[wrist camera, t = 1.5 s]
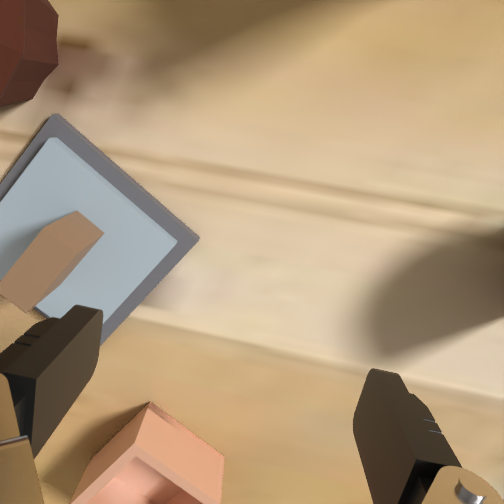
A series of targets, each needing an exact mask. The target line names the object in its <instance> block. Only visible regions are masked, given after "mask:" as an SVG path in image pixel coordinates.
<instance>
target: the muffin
mask: <svg viewBox="0 0 504 504" xmlns="http://www.w3.org/2000/svg"><path fill="white" fill-rule="evenodd" d="M57 26H58V14H57V12H56V11H55V10H54V8H53V7H52V5H51V4H50V3H49V1H48V0H0V106H4V105H8V104H12V103H16V102H21V101H25V100H29V99H33V97H34V96H35V94H36V92H37V91H38V89H39V87H40V86H41V84H42V82H43V81H44V79H45V78H46V77H47V76H48V75H49V74H50V73H51V72H52V71H53V70H54V69H55V68H56V67H57V66H58V55H57V43H56V37H57Z"/></svg>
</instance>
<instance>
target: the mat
mask: <svg viewBox="0 0 504 504" xmlns="http://www.w3.org/2000/svg"><path fill="white" fill-rule="evenodd" d="M54 137H57V138H58V139H59V140H60V141H62V142H63V143H64V144H65V145H66V146H67V147H69V148H70V149H71V150H72V151H73V152H74V153H76V154H77V155H78V156H79V157H80V158H81V159H83V160H84V161H85V162H86V163H87V164H88V165H90V166H91V167H92V168H93V169H94V170H95V171H97V172H98V173H99V174H100V175H101V176H102V177H104V178H105V179H106V180H107V181H108V182H109V183H110V184H112V185H113V186H114V187H115V188H116V189H117V190H119V191H120V192H121V193H122V194H123V195H124V196H126V197H127V198H128V199H129V200H130V201H131V202H133V203H134V204H135V205H136V206H137V207H138V208H140V209H141V210H142V211H143V212H144V213H145V214H147V215H148V216H149V217H150V218H151V219H152V220H154V221H155V222H156V223H157V224H158V225H159V226H161V227H162V228H163V229H164V230H165V231H166V232H167V233H169V234H170V235H171V236H172V237H173V238H174V239H176V240H177V241H178V242H177V243H176V245H175V246H174V247H173V248H172V249H171V250H170V252H169V253H168V254H167V255H166V256H165V257H164V258H163V259H162V260H161V261H160V262H159V264H158V265H157V266H156V267H155V268H154V269H153V270H152V271H151V272H150V273H149V274H148V275H147V277H146V278H145V279H144V280H143V281H142V282H141V283H140V284H139V285H138V286H137V287H136V289H135V290H134V291H133V292H132V293H131V294H130V295H129V296H128V297H127V298H126V299H125V301H124V302H123V303H122V304H121V305H120V306H119V307H118V308H117V309H116V310H115V311H114V312H113V314H112V315H111V316H110V317H109V318H108V319H107V320H106V321H105V322H104V323H103V324H102V332H101V340H100V346H101V345H102V343H103V342H104V341H105V340H106V339H107V338H108V337H109V336H110V335H111V334H112V333H113V332H114V331H115V330H116V328H117V327H118V326H119V325H120V324H121V323H122V322H123V321H124V320H125V319H126V318H127V317H128V316H129V315H130V313H131V312H132V311H133V310H134V309H135V308H136V307H137V306H138V305H139V304H140V303H141V302H142V301H143V300H144V298H145V297H146V296H147V295H148V294H149V293H150V292H151V291H152V290H153V289H154V288H155V287H156V286H157V285H158V283H159V282H160V281H161V280H162V279H163V278H164V277H165V276H166V275H167V274H168V273H169V272H170V271H171V270H172V269H173V267H174V266H175V265H176V264H177V263H178V262H179V261H180V260H181V259H182V258H183V257H184V256H185V255H186V254H187V252H188V251H189V250H190V249H191V248H192V247H193V246H194V245H195V244H196V243H197V242H198V241H199V239H200V237H199V236H198V235H197V234H195V233H194V232H193V231H192V230H191V229H190V228H189V227H187V226H186V225H185V224H184V223H183V222H182V221H181V220H179V219H178V218H177V217H176V216H175V215H174V214H172V213H171V212H170V211H169V210H168V209H167V208H166V207H164V206H163V205H162V204H161V203H160V202H159V201H158V200H156V199H155V198H154V197H153V196H152V195H151V194H150V193H148V192H147V191H146V190H145V189H144V188H143V187H142V186H140V185H139V184H138V183H137V182H136V181H135V180H134V179H132V178H131V177H130V176H129V175H128V174H127V173H126V172H124V171H123V170H122V169H121V168H120V167H119V166H118V165H116V164H115V163H114V162H113V161H112V160H111V159H110V158H108V157H107V156H106V155H105V154H104V153H103V152H102V151H100V150H99V149H98V148H97V147H96V146H95V145H94V144H92V143H91V142H90V141H89V140H88V139H87V138H86V137H84V136H83V135H82V134H81V133H80V132H79V131H78V130H76V129H75V128H74V127H73V126H72V125H71V124H70V123H68V122H67V121H66V120H65V119H64V118H63V117H62V116H60V115H59V114H52V115H51V117H50V118H49V119H48V121H47V122H46V123H45V125H44V126H43V127H42V129H41V130H40V131H39V133H38V134H37V135H36V137H35V138H34V139H33V141H32V142H31V143H30V145H29V146H28V148H27V149H26V150H25V152H24V153H23V154H22V156H21V157H20V158H19V160H18V161H17V162H16V164H15V165H14V166H13V168H12V169H11V170H10V172H9V173H8V174H7V176H6V177H5V178H4V180H3V181H2V182H1V184H0V202H1V201H2V200H3V198H4V197H5V196H6V194H7V193H8V192H9V190H10V189H11V188H12V186H13V185H14V184H15V182H16V181H17V180H18V178H19V177H20V176H21V175H22V173H23V172H24V171H25V169H26V168H27V167H28V165H29V164H30V163H31V161H32V160H33V159H34V157H35V156H36V155H37V153H38V152H39V151H40V149H41V148H42V147H43V145H44V144H45V143H46V141H47V140H48V139H49V138H54ZM0 281H1V280H0ZM33 309H35V310H36V311H37V312H39V313H40V314H41V315H43V316H44V317H45V318H47V319H48V318H51V317H49V316H48V315H47V314H45V313H44V312H43V311H41V310H40V309H39V308H37V307H36V306H35V307H33Z"/></svg>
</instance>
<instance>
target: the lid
mask: <svg viewBox="0 0 504 504" xmlns="http://www.w3.org/2000/svg"><path fill="white" fill-rule="evenodd" d="M177 242H178V241H177V240H176V239H174V238H173V237H172V236H171V235H170V234H169V233H167V232H166V231H165V230H164V229H163V228H162V227H161V226H159V225H158V224H157V223H156V222H155V221H154V220H152V219H151V218H150V217H149V216H148V215H147V214H145V213H144V212H143V211H142V210H141V209H140V208H138V207H137V206H136V205H135V204H134V203H133V202H131V201H130V200H129V199H128V198H127V197H126V196H124V195H123V194H122V193H121V192H120V191H119V190H117V189H116V188H115V187H114V186H113V185H112V184H110V183H109V182H108V181H107V180H106V179H105V178H104V177H102V176H101V175H100V174H99V173H98V172H97V171H95V170H94V169H93V168H92V167H91V166H90V165H88V164H87V163H86V162H85V161H84V160H83V159H81V158H80V157H79V156H78V155H77V154H76V153H74V152H73V151H72V150H71V149H70V148H69V147H67V146H66V145H65V144H64V143H63V142H62V141H60V140H59V139H58V138H57V137H54V138H49V139H48V140H47V141H46V143H45V144H44V145H43V147H42V148H41V149H40V151H39V152H38V153H37V155H36V156H35V157H34V159H33V160H32V161H31V163H30V164H29V165H28V167H27V168H26V169H25V171H24V172H23V173H22V175H21V176H20V177H19V178H18V180H17V181H16V182H15V184H14V185H13V186H12V188H11V189H10V190H9V192H8V193H7V194H6V196H5V197H4V198H3V200H2V201H1V202H0V280H1V281H0V294H1V295H2V296H3V297H5V298H6V299H7V300H9V301H10V302H11V303H13V304H14V305H16V306H17V307H18V308H20V309H21V310H22V311H24V312H25V313H27V312H29V311H30V310H31V309H32V308H33V307H35V306H36V307H37V308H39V309H40V310H41V311H43V312H44V313H45V314H47V315H48V316H49V317H56V318H61V317H62V316H64V315H65V314H66V313H67V312H68V311H69V310H70V309H71V308H72V307H73V306H74V305H82V306H87V307H91V308H96V309H101V310H102V311H103V323H104V322H105V321H106V320H107V319H108V318H109V317H110V316H111V315H112V314H113V312H114V311H115V310H116V309H117V308H118V307H119V306H120V305H121V304H122V303H123V302H124V301H125V299H126V298H127V297H128V296H129V295H130V294H131V293H132V292H133V291H134V290H135V289H136V287H137V286H138V285H139V284H140V283H141V282H142V281H143V280H144V279H145V278H146V277H147V275H148V274H149V273H150V272H151V271H152V270H153V269H154V268H155V267H156V266H157V265H158V264H159V262H160V261H161V260H162V259H163V258H164V257H165V256H166V255H167V254H168V253H169V252H170V250H171V249H172V248H173V247H174V246H175V245H176V243H177Z"/></svg>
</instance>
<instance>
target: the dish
mask: <svg viewBox="0 0 504 504" xmlns="http://www.w3.org/2000/svg"><path fill="white" fill-rule="evenodd" d="M224 459H225V457H224V456H222V455H221V454H220V453H218V452H217V451H216V450H214V449H213V448H212V447H210V446H209V445H208V444H206V443H205V442H204V441H202V440H201V439H200V438H198V437H197V436H196V435H194V434H193V433H192V432H190V431H189V430H188V429H186V428H185V427H184V426H182V425H181V424H180V423H178V422H177V421H176V420H174V419H173V418H172V417H170V416H169V415H168V414H166V413H165V412H164V411H162V410H161V409H160V408H158V407H157V406H155V405H154V404H153V403H151V402H149V403H148V404H147V405H146V406H145V407H144V408H143V409H142V410H141V411H140V412H139V413H138V414H137V415H136V416H135V417H134V418H133V419H132V420H131V421H130V422H129V423H128V424H127V425H126V426H124V427H123V428H122V429H121V430H120V431H119V432H118V433H117V434H116V435H115V436H114V437H113V438H112V439H111V440H110V441H109V442H108V443H107V444H106V445H105V446H104V447H103V448H102V449H101V450H100V451H99V452H98V453H97V454H96V455H95V456H94V457H93V458H92V459H91V460H90V462H89V464H88V466H87V468H86V470H85V472H84V474H83V476H82V478H81V480H80V482H79V484H78V486H77V488H76V490H75V492H74V494H73V497H72V499H71V501H70V503H69V504H220V501H221V490H222V480H223V469H224Z"/></svg>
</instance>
